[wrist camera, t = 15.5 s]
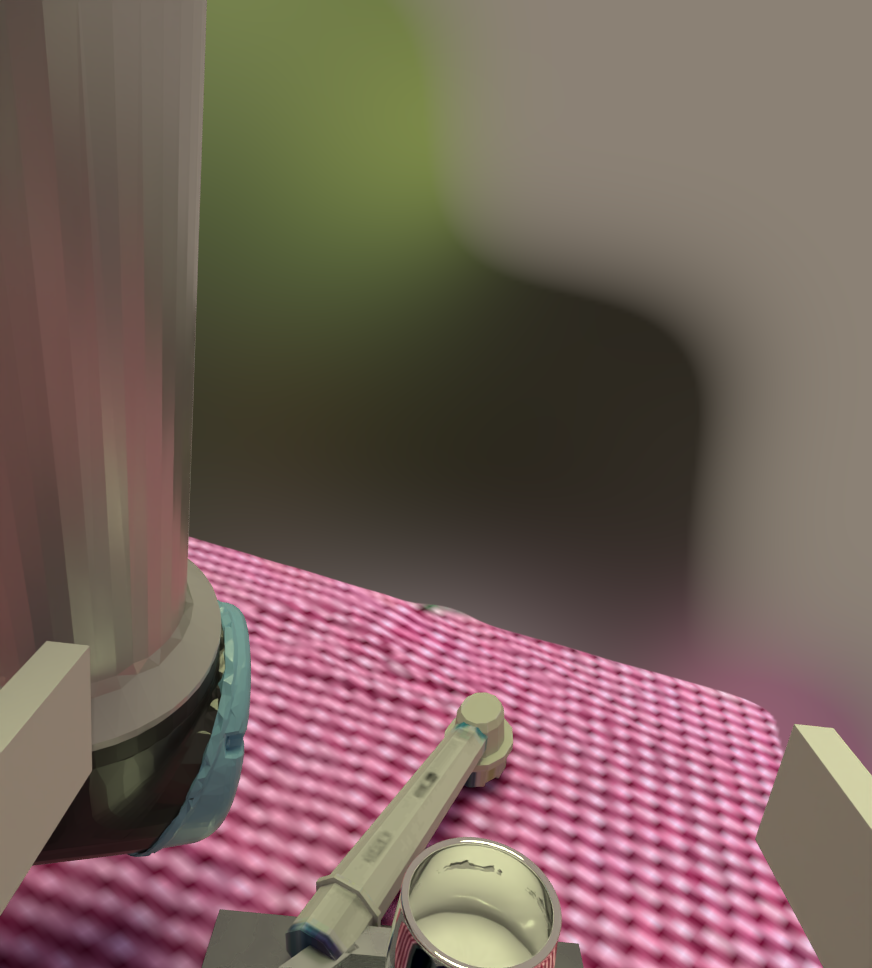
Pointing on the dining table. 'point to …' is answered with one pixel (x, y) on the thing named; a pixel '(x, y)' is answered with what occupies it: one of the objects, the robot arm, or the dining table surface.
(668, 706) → the dining table surface
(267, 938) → the collar
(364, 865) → the beige knobbed rod
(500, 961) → the chrome metal cup
